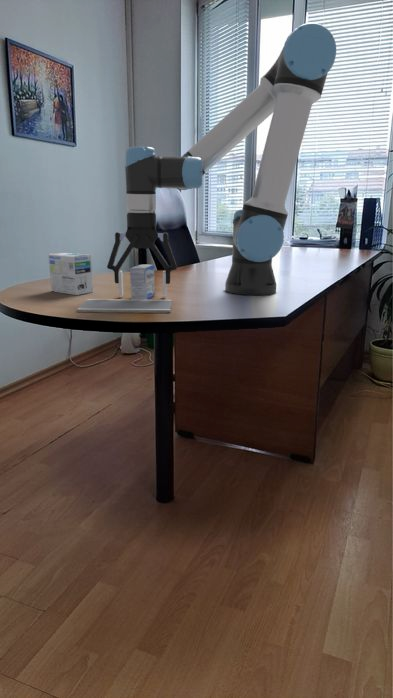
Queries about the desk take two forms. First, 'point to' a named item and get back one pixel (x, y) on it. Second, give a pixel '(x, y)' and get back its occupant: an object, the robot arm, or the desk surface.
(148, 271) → the medicine box
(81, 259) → the light bulb box
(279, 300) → the desk surface
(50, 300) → the desk surface
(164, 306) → the mat
